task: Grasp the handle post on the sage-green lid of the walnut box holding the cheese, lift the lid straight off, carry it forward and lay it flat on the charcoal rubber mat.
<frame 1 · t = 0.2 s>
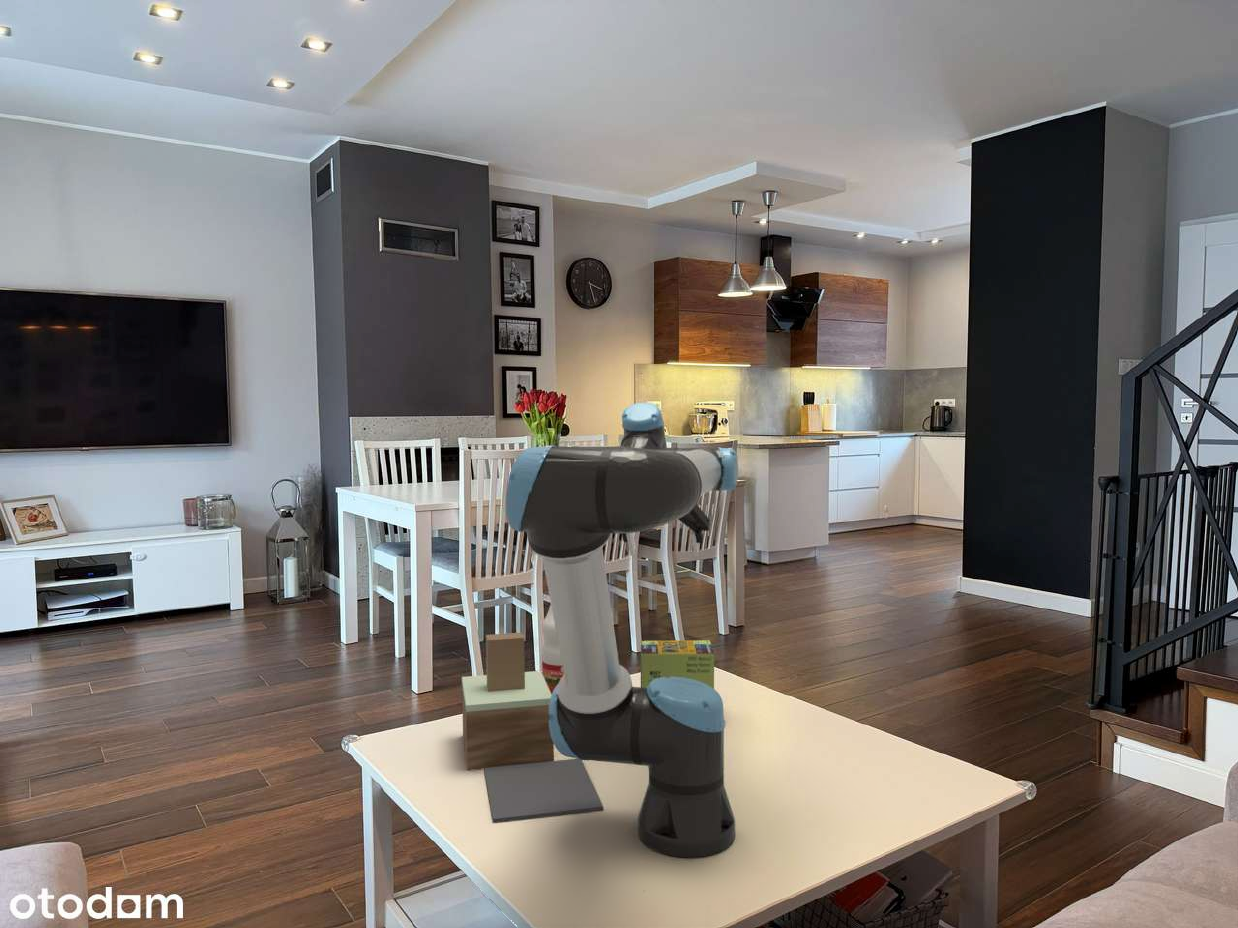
hand: (664, 551, 180), 36 cm above the table, tool tilted 35°, fingers open, 13 cm apart
box: (506, 748, 166), on the table
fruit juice: (564, 714, 185), on the table
mat: (540, 789, 148), on the table
cheese: (506, 749, 166), resting in box
lid: (505, 693, 165), point 11 cm above the table, touching box
protein box: (676, 718, 182), on the table
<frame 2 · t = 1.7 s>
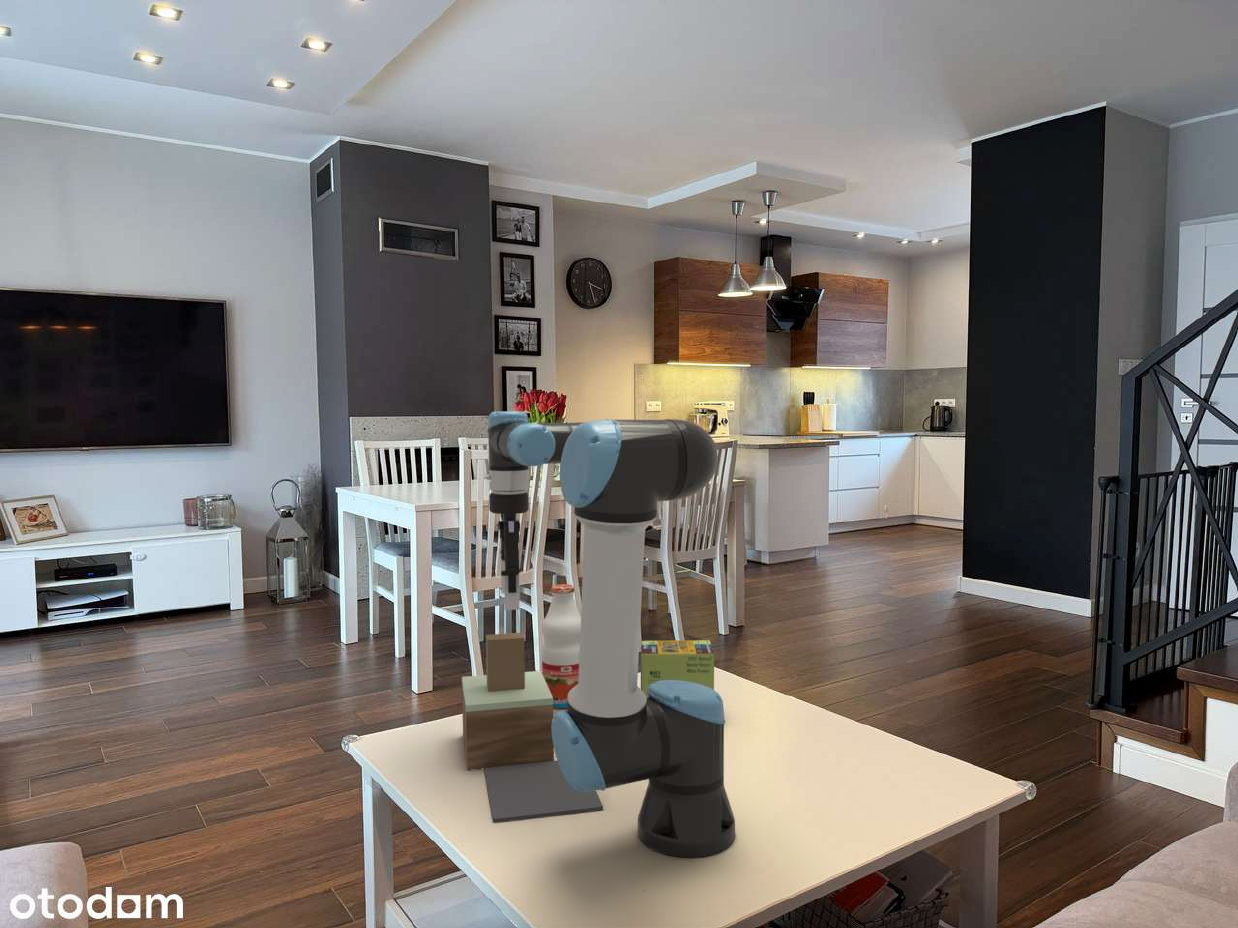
hand: (510, 600, 165), 29 cm above the table, tool pointing down, fingers open, 13 cm apart
nothing on the table moved.
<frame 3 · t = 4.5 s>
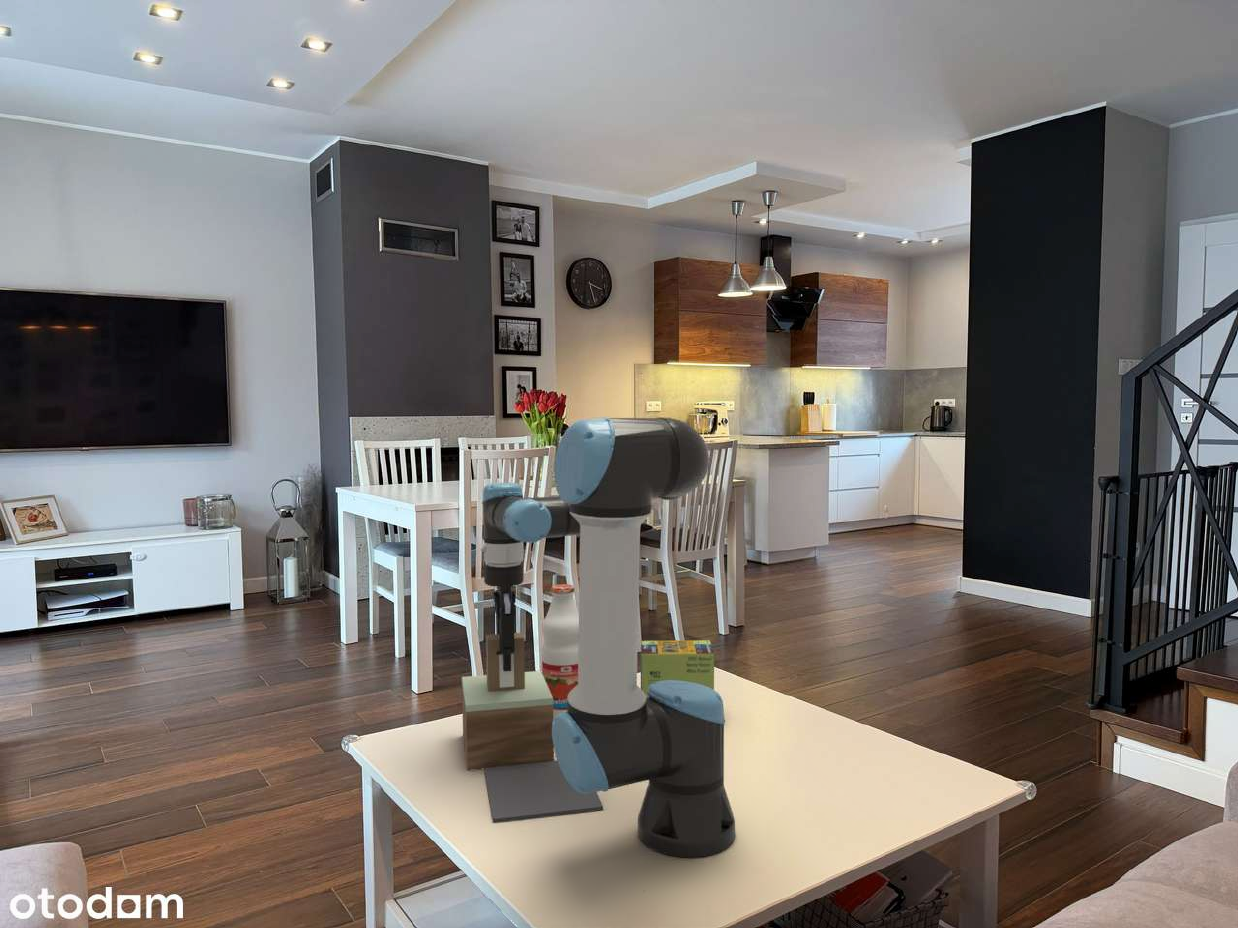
hand: (505, 682, 165), 13 cm above the table, tool pointing down, fingers closed on lid, 4 cm apart
lid: (505, 693, 165), point 11 cm above the table, touching box, gripper
everything else where it was.
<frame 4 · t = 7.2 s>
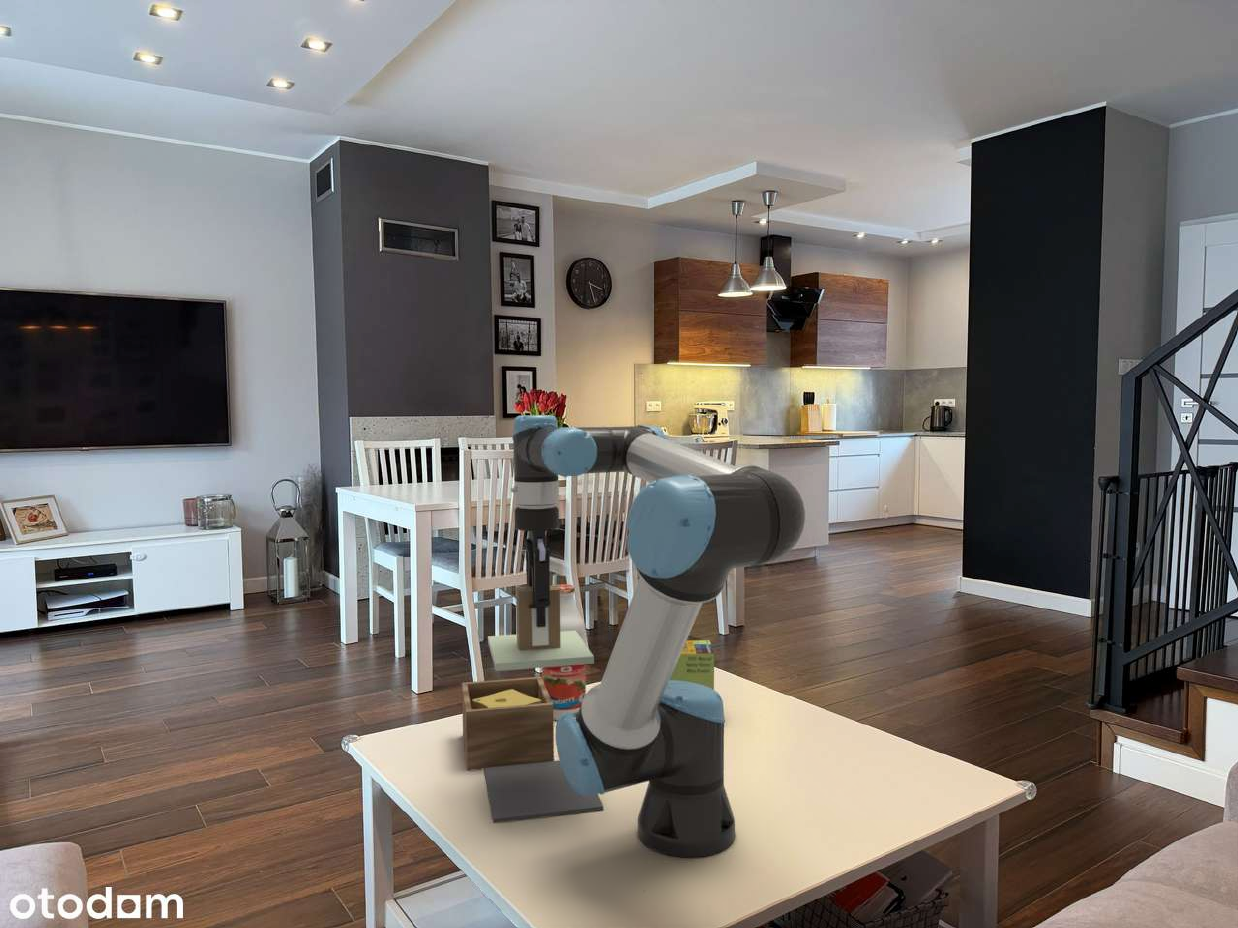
hand: (538, 640, 146), 26 cm above the table, tool pointing down, fingers closed on lid, 4 cm apart
lid: (538, 652, 146), point 24 cm above the table, touching gripper
everything else where it was.
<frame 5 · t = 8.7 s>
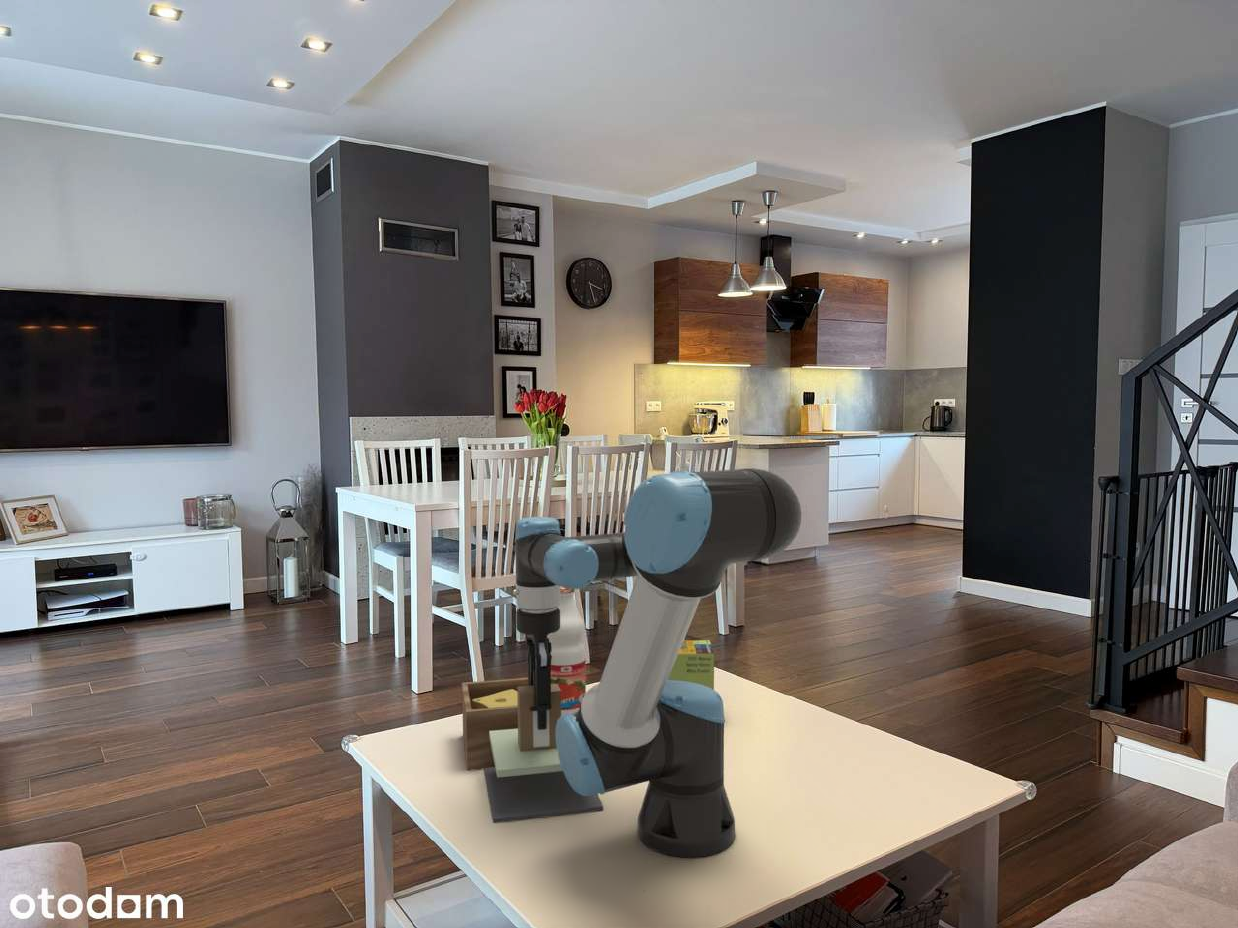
hand: (539, 740, 148), 9 cm above the table, tool pointing down, fingers closed on lid, 4 cm apart
lid: (539, 751, 148), point 7 cm above the table, touching gripper
everything else where it was.
when the fingers open (4 cm above the table, at t = 9.9 s): lid drops 1 cm, resting on mat.
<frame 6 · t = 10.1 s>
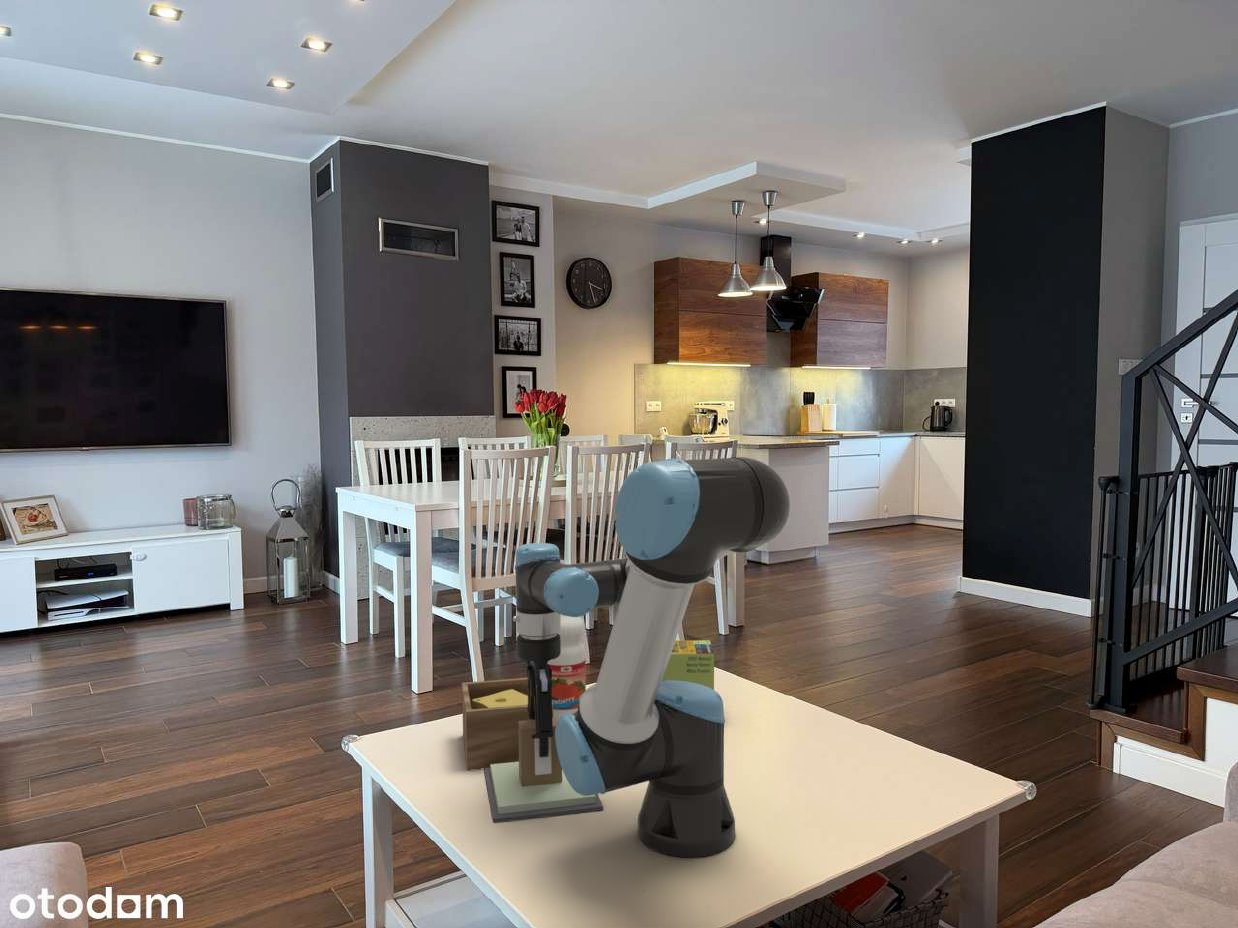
hand: (540, 764, 148), 4 cm above the table, tool pointing down, fingers open, 7 cm apart
lid: (540, 786, 148), point 1 cm above the table, touching mat
everything else where it was.
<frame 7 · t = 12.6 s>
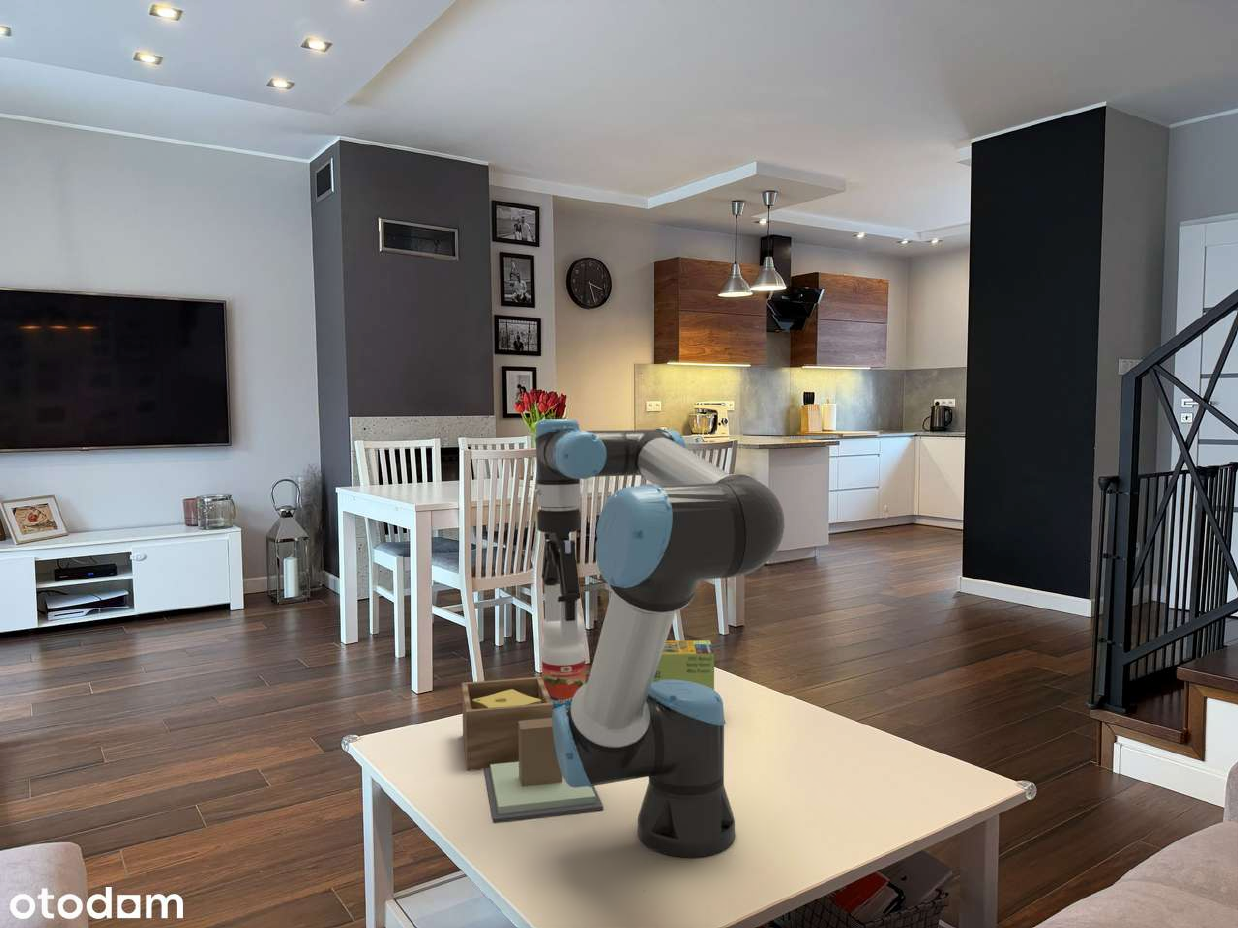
hand: (560, 629, 148), 28 cm above the table, tool pointing down, fingers open, 13 cm apart
nothing on the table moved.
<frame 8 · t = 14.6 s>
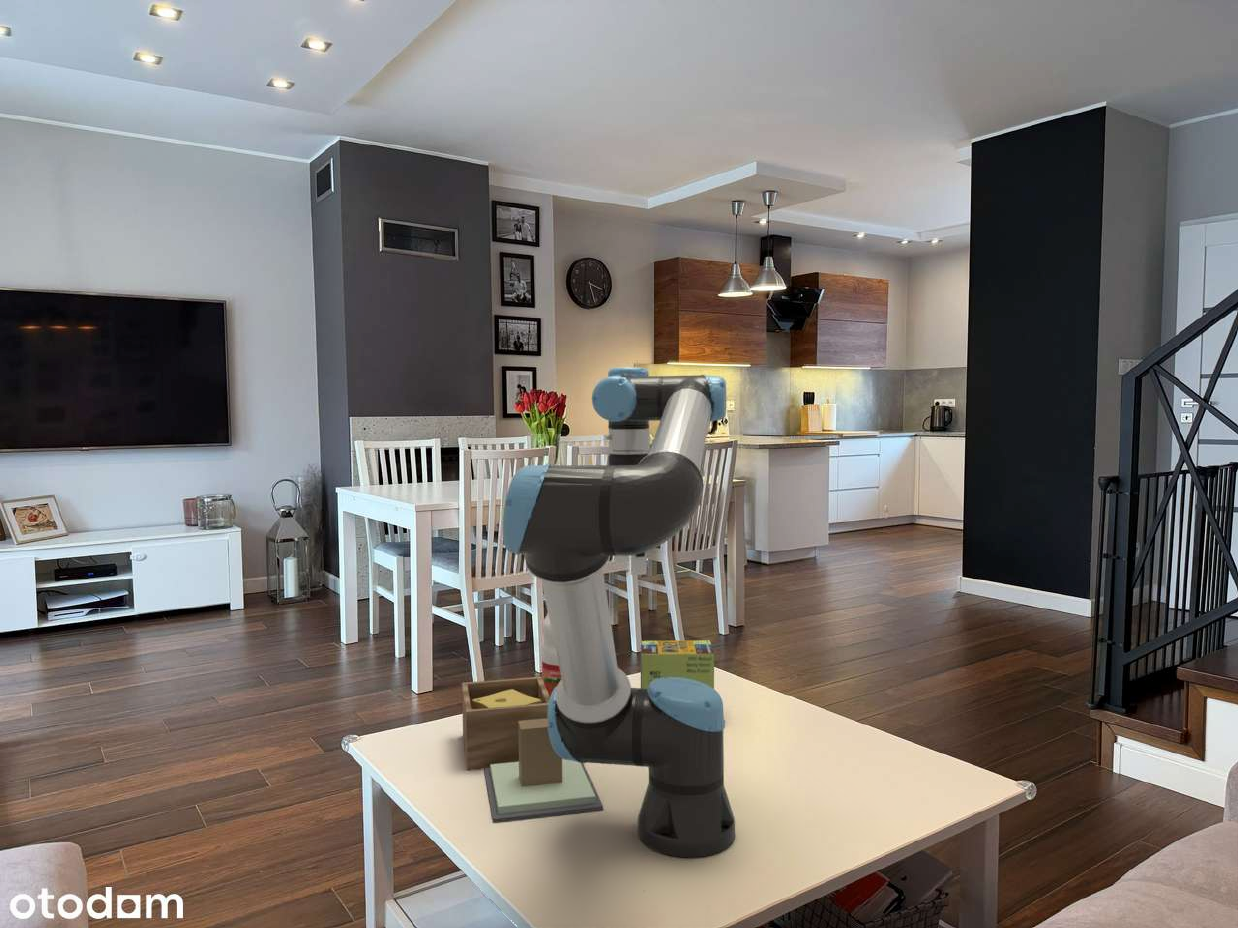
hand: (629, 567, 157), 37 cm above the table, tool pointing down, fingers open, 13 cm apart
nothing on the table moved.
at the end: lid inside the target area on the mat (0.0 cm from its centre), point 0.6 cm above the mat's base; lid tilted 0°; the gripper is holding nothing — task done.
